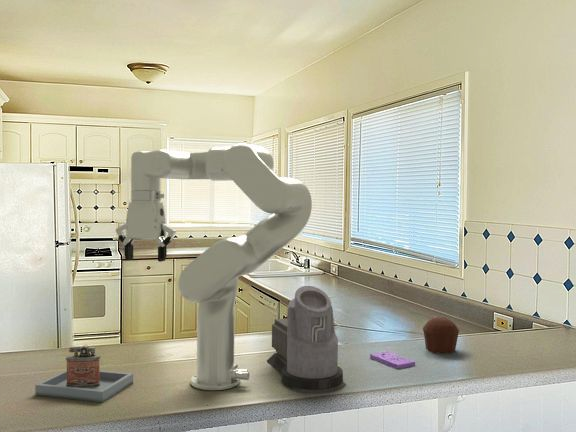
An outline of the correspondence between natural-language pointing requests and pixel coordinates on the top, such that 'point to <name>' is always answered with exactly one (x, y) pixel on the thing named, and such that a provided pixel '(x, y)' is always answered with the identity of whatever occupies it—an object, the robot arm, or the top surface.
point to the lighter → (83, 367)
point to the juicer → (307, 344)
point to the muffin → (440, 335)
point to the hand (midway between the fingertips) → (145, 260)
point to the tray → (108, 388)
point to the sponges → (392, 359)
